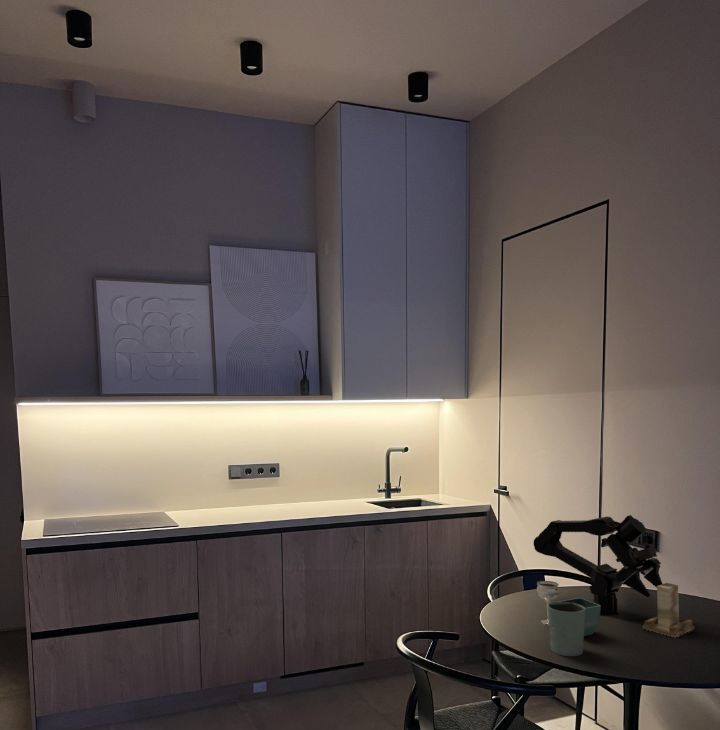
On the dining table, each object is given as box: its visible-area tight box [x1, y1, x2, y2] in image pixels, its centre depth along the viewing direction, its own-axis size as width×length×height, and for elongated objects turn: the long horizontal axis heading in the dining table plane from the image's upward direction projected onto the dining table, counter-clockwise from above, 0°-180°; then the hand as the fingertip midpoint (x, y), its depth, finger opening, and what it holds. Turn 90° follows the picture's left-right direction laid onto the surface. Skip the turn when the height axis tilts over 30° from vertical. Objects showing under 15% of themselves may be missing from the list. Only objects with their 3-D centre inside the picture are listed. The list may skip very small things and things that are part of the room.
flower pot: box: [558, 597, 601, 637], centre depth 198 cm, size 9×9×9 cm
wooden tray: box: [642, 615, 696, 639], centre depth 201 cm, size 12×10×2 cm
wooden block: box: [656, 582, 680, 629], centre depth 202 cm, size 6×4×12 cm, turn 129°
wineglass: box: [536, 580, 560, 626], centre depth 208 cm, size 7×7×12 cm
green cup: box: [546, 601, 585, 657], centre depth 185 cm, size 10×10×12 cm
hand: (656, 593), depth 205 cm, fingers open, 9 cm apart
